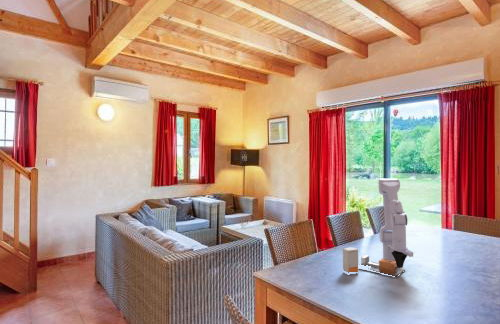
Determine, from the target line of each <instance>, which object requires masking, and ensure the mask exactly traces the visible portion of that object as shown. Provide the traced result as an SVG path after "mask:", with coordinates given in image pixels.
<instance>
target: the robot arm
mask: <svg viewBox="0 0 500 324" xmlns="http://www.w3.org/2000/svg"><path fill="white" fill-rule="evenodd" d="M400 189H401V181H400V179H399V178H379V180H378V192H379V194H380V195H382V197H383V211H384V212H383V213H384V224H383V226H381V227H380V229H379V241H380V242H381V243H382V258H384V259H388V260H393V261H395V262H396V265H397V267H398V268H403V267H404V263H405V261H406V258H407V257H410V258H411V257H414V252H413V251H412V250H409V249H408V248H409V247H407V230H406V229H407V227H406V226H408V216H407V213H406V211H404V209H403V205H402V202H401V201H400V200H399V195H398V192H399V191H400ZM403 269H404V268H403Z"/></svg>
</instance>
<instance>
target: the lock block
mask: <svg viewBox="0 0 500 324" xmlns="http://www.w3.org/2000/svg"><path fill="white" fill-rule="evenodd" d="M381 258H382V259H381ZM381 258H380V259H381V260H380V259H379V260H378V263H379V269H380V270H385V271H389V272H393V273H394V272H395V268H397V265H396V262H395V261H393V260H388V259H384V258H383V257H381ZM397 270H398V268H397Z"/></svg>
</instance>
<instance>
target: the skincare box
mask: <svg viewBox="0 0 500 324" xmlns="http://www.w3.org/2000/svg"><path fill="white" fill-rule="evenodd" d="M358 265H359V249H358V248H356V247H351V246H350V247H345V248H344V247H343V248H342V271H343V270H344V271H346V272H348V273H349V272H358V273H359V269H358Z"/></svg>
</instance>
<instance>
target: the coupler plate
mask: <svg viewBox="0 0 500 324" xmlns="http://www.w3.org/2000/svg"><path fill="white" fill-rule="evenodd" d="M369 261H370V255H368V254H364V255H363V256H361V258H360V264H361V265H364V266H366V265H368V266H371V268H370V270H373V271H376V272H380V273H384V274H388V275H392V276H395V277H397V276H398V275H399V274H401V273H402V272H403V271H404V272H406V268H398V267H397V268H398V270H397V268H395V272H394V273H393V272H389V271H385V270H380V269H379V262H374V261H371V262H369ZM368 269H369V268H368ZM404 272H403V273H404ZM403 273H402V274H403ZM402 274H401V275H402ZM398 277H399V276H398ZM398 277H397V278H398Z"/></svg>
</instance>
